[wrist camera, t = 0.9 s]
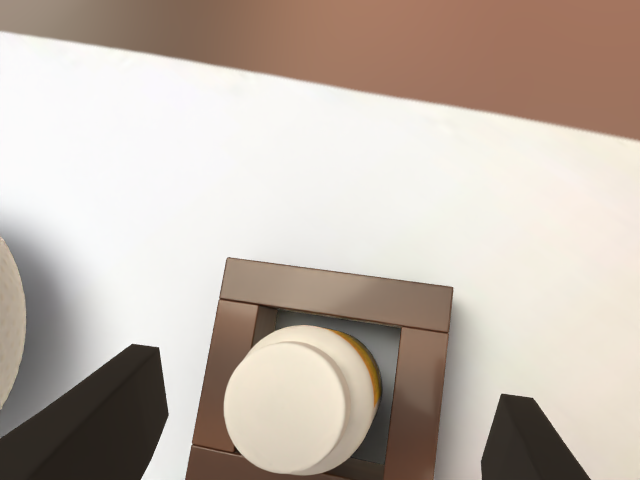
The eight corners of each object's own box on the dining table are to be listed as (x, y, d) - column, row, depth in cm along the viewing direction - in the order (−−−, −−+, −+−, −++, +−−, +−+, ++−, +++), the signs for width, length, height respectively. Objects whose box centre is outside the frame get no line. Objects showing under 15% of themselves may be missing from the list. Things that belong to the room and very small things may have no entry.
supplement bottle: (364, 456, 24) (336, 530, 14) (263, 417, 25) (178, 463, 16) (396, 348, 24) (389, 352, 15) (296, 315, 26) (233, 301, 16)
